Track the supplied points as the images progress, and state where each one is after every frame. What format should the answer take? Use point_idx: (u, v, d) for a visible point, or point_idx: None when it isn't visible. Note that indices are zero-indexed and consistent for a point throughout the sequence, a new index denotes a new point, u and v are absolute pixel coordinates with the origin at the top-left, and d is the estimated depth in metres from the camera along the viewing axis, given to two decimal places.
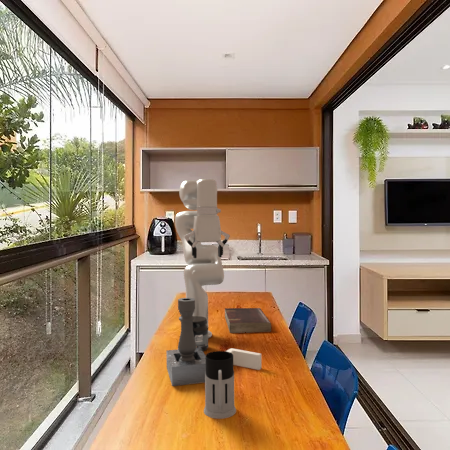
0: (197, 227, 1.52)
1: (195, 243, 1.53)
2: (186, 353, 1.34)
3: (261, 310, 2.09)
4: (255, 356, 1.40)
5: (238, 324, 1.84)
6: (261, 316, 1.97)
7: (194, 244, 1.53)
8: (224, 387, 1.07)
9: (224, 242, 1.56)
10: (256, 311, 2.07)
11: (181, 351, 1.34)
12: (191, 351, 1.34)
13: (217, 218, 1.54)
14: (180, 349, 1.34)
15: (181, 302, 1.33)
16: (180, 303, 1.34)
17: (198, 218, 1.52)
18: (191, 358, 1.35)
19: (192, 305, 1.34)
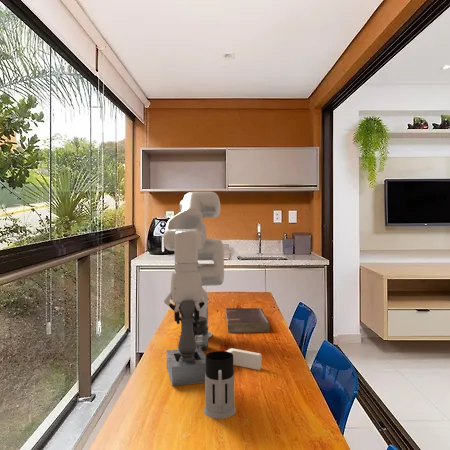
0: (174, 286, 1.33)
1: (177, 307, 1.34)
2: (186, 353, 1.34)
3: (262, 310, 2.09)
4: (255, 356, 1.40)
5: (237, 324, 1.85)
6: (261, 316, 1.96)
7: (176, 308, 1.34)
8: (224, 387, 1.07)
9: (200, 305, 1.36)
10: (257, 311, 2.06)
11: (181, 351, 1.34)
12: (191, 351, 1.34)
13: (198, 275, 1.34)
14: (180, 349, 1.34)
15: None
16: (180, 303, 1.34)
17: (176, 276, 1.33)
18: (191, 358, 1.35)
19: (192, 305, 1.34)
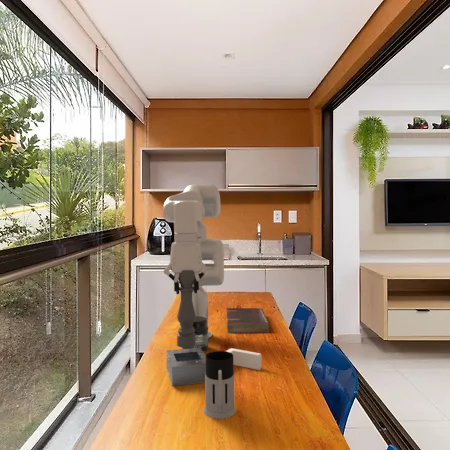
0: (174, 256, 1.33)
1: (176, 277, 1.34)
2: (185, 323, 1.34)
3: (262, 310, 2.08)
4: (255, 356, 1.40)
5: (236, 324, 1.85)
6: (261, 316, 1.96)
7: (176, 278, 1.34)
8: (224, 387, 1.07)
9: (200, 276, 1.36)
10: (257, 311, 2.06)
11: (180, 321, 1.34)
12: (190, 321, 1.34)
13: (197, 245, 1.34)
14: (179, 319, 1.34)
15: (181, 272, 1.33)
16: (180, 273, 1.34)
17: (175, 246, 1.33)
18: (190, 328, 1.35)
19: (192, 275, 1.34)
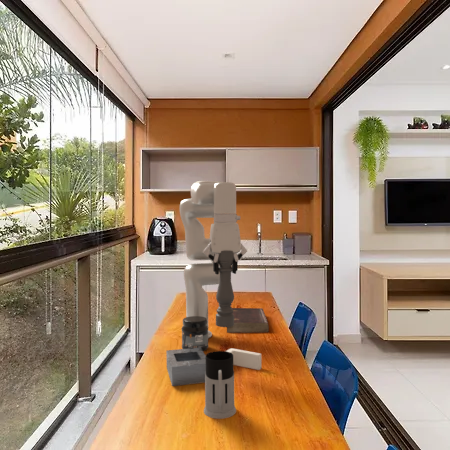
0: (214, 237, 1.35)
1: (216, 257, 1.36)
2: (224, 303, 1.36)
3: None
4: (255, 356, 1.40)
5: (235, 324, 1.85)
6: (261, 316, 1.96)
7: (215, 258, 1.36)
8: (224, 387, 1.07)
9: (239, 256, 1.38)
10: (257, 311, 2.06)
11: (220, 300, 1.36)
12: (229, 301, 1.36)
13: (236, 226, 1.36)
14: (219, 298, 1.36)
15: (221, 252, 1.36)
16: (220, 253, 1.36)
17: (215, 226, 1.35)
18: (229, 308, 1.37)
19: (231, 255, 1.36)
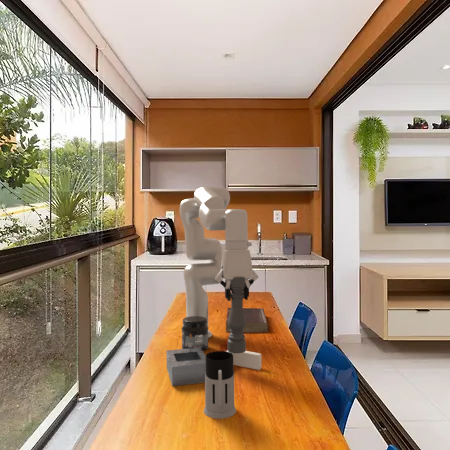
0: (226, 263, 1.36)
1: (228, 283, 1.37)
2: (237, 329, 1.36)
3: (263, 310, 2.08)
4: (255, 356, 1.40)
5: None
6: (260, 316, 1.96)
7: (227, 285, 1.37)
8: (224, 387, 1.07)
9: (250, 282, 1.39)
10: (258, 311, 2.06)
11: (232, 327, 1.37)
12: (241, 327, 1.37)
13: (248, 253, 1.37)
14: (231, 325, 1.37)
15: (233, 279, 1.36)
16: (232, 280, 1.37)
17: (227, 253, 1.36)
18: (241, 334, 1.38)
19: (243, 282, 1.37)
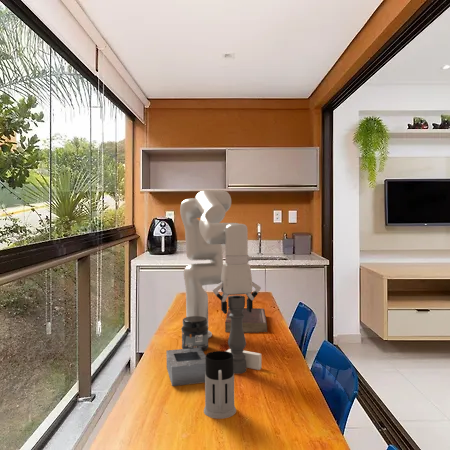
0: (226, 278, 1.36)
1: (225, 297, 1.37)
2: (237, 349, 1.37)
3: (264, 310, 2.08)
4: (255, 356, 1.40)
5: None
6: (260, 316, 1.96)
7: (224, 298, 1.37)
8: (224, 387, 1.07)
9: (254, 295, 1.40)
10: (258, 311, 2.06)
11: (232, 347, 1.37)
12: (242, 347, 1.37)
13: (248, 267, 1.38)
14: (231, 345, 1.37)
15: (232, 299, 1.37)
16: (231, 300, 1.37)
17: (227, 268, 1.36)
18: (241, 354, 1.38)
19: (243, 302, 1.37)
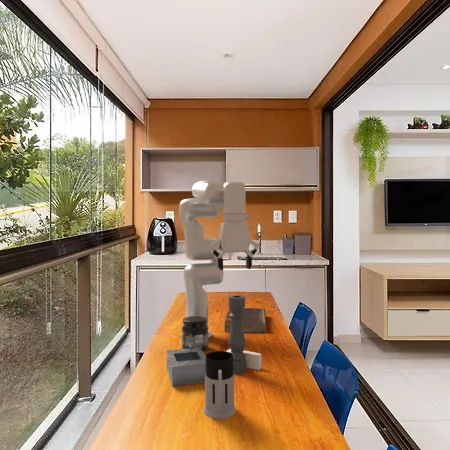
0: (224, 236, 1.36)
1: (221, 253, 1.37)
2: (237, 349, 1.37)
3: (264, 311, 2.08)
4: (255, 356, 1.40)
5: None
6: (260, 317, 1.96)
7: (220, 255, 1.37)
8: (224, 387, 1.07)
9: (253, 252, 1.40)
10: (258, 311, 2.06)
11: (232, 347, 1.37)
12: (242, 347, 1.37)
13: (246, 226, 1.38)
14: (231, 345, 1.37)
15: (232, 299, 1.37)
16: (231, 300, 1.37)
17: (225, 226, 1.36)
18: (241, 354, 1.38)
19: (243, 302, 1.38)
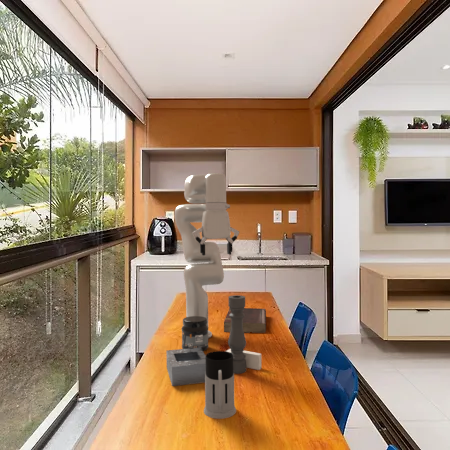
0: (206, 223, 1.47)
1: (204, 240, 1.48)
2: (237, 349, 1.37)
3: (264, 311, 2.07)
4: (255, 356, 1.40)
5: None
6: (260, 317, 1.95)
7: (203, 241, 1.48)
8: (224, 387, 1.07)
9: (233, 239, 1.51)
10: (259, 311, 2.06)
11: (232, 347, 1.37)
12: (242, 347, 1.37)
13: (226, 214, 1.49)
14: (231, 345, 1.37)
15: (232, 299, 1.37)
16: (231, 300, 1.37)
17: (207, 214, 1.47)
18: (241, 354, 1.38)
19: (243, 302, 1.37)
